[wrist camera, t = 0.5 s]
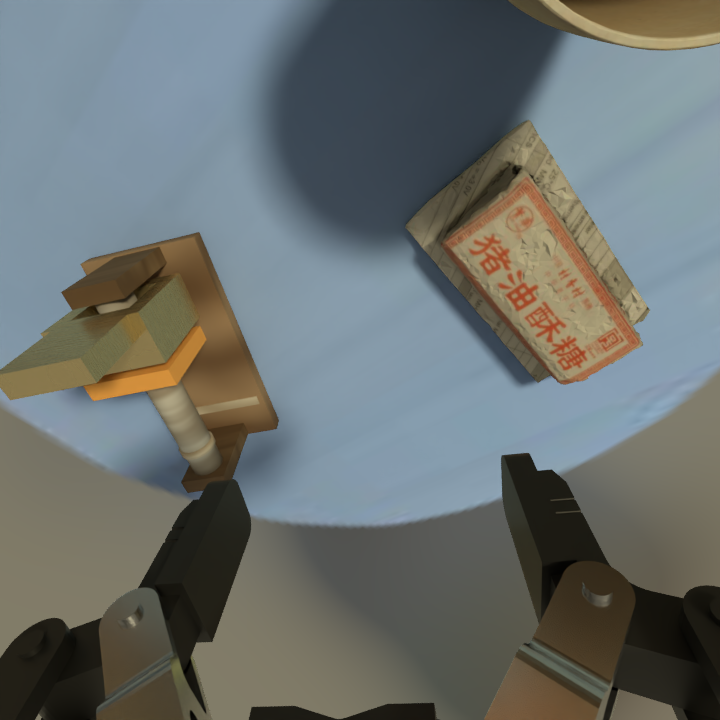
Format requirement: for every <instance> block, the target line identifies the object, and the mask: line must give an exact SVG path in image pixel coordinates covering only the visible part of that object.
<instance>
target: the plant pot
mask: <svg viewBox="0 0 720 720" xmlns="http://www.w3.org/2000/svg"><path fill="white" fill-rule="evenodd" d="M508 1H509V2H510V3H511V4H513V5H514V6H515V7H517V8H518V9H520V10H521V11H523V12H525V13H526V14H528V15H530V16H531V17H533V18H535V19H536V20H538V21H540V22H542V23H544V24H547V25H549V26H552V27H554V28H557V29H560V30H563V31H566V32H569V33H572V34H575V35H579V36H583V37H587V38H590V39H594V40H598V41H602V42H606V43H611V44H616V45H621V46H626V47H631V48H638V49H646V50H681V49H693V48H699V47H705V46H711V45H715V44H719V43H720V0H508Z"/></svg>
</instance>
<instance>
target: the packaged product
mask: <svg viewBox="0 0 720 720" xmlns="http://www.w3.org/2000/svg"><path fill="white" fill-rule="evenodd" d="M406 229H407V230H408V231H409V232H410V233H411V234H412V236H413V237H414V238H415V239H416V240H417V242H418V243H419V244H420V245H421V247H422V248H423V249H424V250H425V252H426V253H427V254H428V255H429V256H430V257H431V259H432V260H433V261H434V262H435V263H436V264H437V266H438V267H439V268H440V269H441V270H442V271H443V273H444V274H445V275H446V276H447V277H448V279H449V280H450V281H451V282H452V283H453V284H454V286H455V287H456V288H457V289H458V290H459V291H460V292H461V294H462V295H463V296H464V297H465V298H466V299H467V301H468V302H469V303H470V304H471V305H472V306H473V307H474V309H475V310H476V311H477V313H478V314H479V315H480V316H481V317H482V318H483V319H484V320H485V321H486V322H487V323H488V324H489V325H490V326H491V328H492V329H493V331H494V332H495V333H496V334H497V335H498V337H499V338H500V339H501V341H502V342H503V343H504V344H505V345H506V346H507V348H508V349H509V350H510V351H511V352H512V353H513V354H514V355H515V356H516V358H517V359H518V360H519V361H520V363H521V364H522V365H523V366H524V367H525V368H526V369H527V371H528V372H529V373H530V374H531V376H532V377H533V378H534V379H535V380H536V381H537V382H538V383H539V382H540V381H541V380H543V379H544V378H546V377H548V376H550V375H551V376H552V377H553V378H554V379H556V380H557V382H559V383H561V384H569V383H573V382H575V381H584V380H586V379H588V377H589V376H590V375H591V374H594V373H596V372H598V371H599V370H601V369H602V368H603V367H605V366H607V365H609V364H613V363H614V362H615V361H617V360H619V359H621V358H623V357H624V356H625V355H627V354H628V353H630V352H631V351H633V350H635V349H637V348H639V347H641V346H642V345H643V343H642V341H641V340H640V339H641V338H640V336H639V333H637V332H636V331H635V329H634V327H633V325H635V324H636V323H638V322H641V321H643V320H644V319H645V317H646V316H647V314H648V313H649V311H650V310H649V308H648V307H647V305H646V304H645V302H644V301H643V299H642V298H641V296H640V295H639V293H638V291H637V290H636V288H635V287H634V285H633V284H632V282H631V281H630V279H629V278H628V276H627V274H626V273H625V271H624V270H623V268H622V266H621V265H620V263H619V262H618V260H617V258H616V257H615V255H614V254H613V252H612V251H611V249H610V247H609V246H608V244H607V242H606V240H605V239H604V237H603V235H602V234H601V232H600V231H599V229H598V228H597V226H596V225H595V223H594V222H593V220H592V219H591V217H590V216H589V214H588V212H587V211H586V210H585V208H584V206H583V205H582V203H581V201H580V200H579V198H578V197H577V195H576V194H575V192H574V191H573V189H572V187H571V186H570V184H569V182H568V181H567V179H566V177H565V176H564V174H563V173H562V171H561V169H560V168H559V166H558V165H557V163H556V162H555V160H554V158H553V156H552V155H551V154H550V152H549V151H548V149H547V147H546V145H545V144H544V143H543V141H542V140H541V138H540V137H539V135H538V134H537V132H536V130H535V128H534V126H533V125H532V123H531V121H530V120H527V121H525V122H523V123H521V124H520V125H519V126H517V127H516V128H514V129H513V130H512V131H510V132H509V133H508V134H506V135H505V136H504V137H503V138H502V139H501V140H500V141H498V142H497V143H496V144H495V145H494V146H493V147H492V148H491V149H490V150H488V151H487V152H486V153H485V154H484V155H483V156H482V157H481V158H480V159H479V160H478V161H476V162H475V163H474V164H473V165H471V166H470V167H469V168H468V169H467V170H465V171H464V172H463V173H462V174H461V175H459V176H458V177H457V178H456V179H455V180H453V181H452V182H451V183H450V184H448V185H447V186H446V187H445V188H444V189H442V190H441V191H440V192H439V193H438V194H436V195H435V196H434V197H433V198H432V199H430V200H429V201H428V202H427V203H426V204H425V205H424V206H423V207H422V208H421V209H420V210H419V211H418V212H417V213H416V214H415V215H414V216H413V217H412V218H411V220H410V221H409V222H408V223H407V224H406Z"/></svg>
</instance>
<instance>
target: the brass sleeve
mask: <svg viewBox="0 0 720 720" xmlns="http://www.w3.org/2000/svg"><path fill="white" fill-rule="evenodd" d="M133 292H134V294H135V296H136V298H137V299H138V300H137V301H136V302H135V303H134V304H133V305H131V306H130V307H129V308H125V309H121V310H116V311H112V312H107V313H103V314H100V313H99V312H98V310H97V308H96V307H95V305H92V306H88V307H84V308H79V309H75V310H72V311H71V312H69V313H68V314H67V315H65V316H64V317H63V318H61V319H60V320H59V321H57V322H56V323H54V324H53V325H52V326H50V327H49V328H48V329H46V330H45V331H44V332H42V333H41V335H42V336H43V338H42V339H40V340H39V341H38V342H36V343H35V344H34V345H32V346H31V347H30V348H28V349H27V350H26V351H24V352H23V353H22V354H21V355H19V356H18V357H17V358H15V359H14V360H13V361H11V362H10V363H9V364H7V365H6V366H5V367H3V368H2V369H1V370H0V388H1V389H2V390H3V392H4V393H5V394H6V395H7V397H8V398H9V399H10V400H14V399H19V398H24V397H29V396H34V395H39V394H44V393H49V392H54V391H59V390H64V389H69V388H74V387H79V386H84V385H89V384H94V383H97V382H98V381H99V380H100V379H101V378H102V377H103V376H104V375H107V374H112V373H117V372H122V371H127V370H132V369H137V368H142V367H147V366H152V365H157V364H162V363H166V362H167V360H168V359H169V358H170V356H171V355H172V354H173V352H174V351H175V350H176V348H177V347H178V346H179V344H180V343H181V342H182V340H183V339H184V338H185V336H186V335H187V334H188V332H189V331H190V330H191V328H192V327H193V326H194V324H195V323H196V322H197V320H198V319H199V318H200V316H199V313H198V311H197V309H196V307H195V305H194V303H193V301H192V299H191V296H190V294H189V292H188V290H187V288H186V286H185V284H184V281H183V279H182V277H181V275H180V273H176V274H172V275H167V276H163V277H159V278H154V279H150V280H146V281H145V282H143V283H142V284H141V285H140V286H139V287H138V288H136V289H135V290H134V291H133Z"/></svg>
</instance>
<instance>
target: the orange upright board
mask: <svg viewBox="0 0 720 720" xmlns="http://www.w3.org/2000/svg"><path fill="white" fill-rule="evenodd" d="M206 340H207V339H206V337H205V335H204V333H203V331H202V329H201V327H200V326H196V327H192V328H191V330H190V331H189V332H188V334H187V335H186V336H185V338H184V339H183V340H182V342H181V343H180V344H179V346H178V347H177V348H176V350H175V351H174V352H173V354H172V355H171V356H170V358H169V359H168V360H167V362H166V363H162V364H158V365H153V366H148V367H143V368H138V369H133V370H127V371H122V372H117V373H112V374H107V375H104V376H103V377H102V378H101V379H100V380H99V381H98V382H97V383H94V384H89V385H84V386H83V387H84V388H85V390H86V391H87V392H88V394H89V395H90V397H91V398H92V400H93V401H96V400H101V399H106V398H111V397H117V396H122V395H127V394H132V393H138V392H143V391H148V390H153V389H158V388H164V387H169V386H174V385H177V384H178V382H179V381H180V379H181V378H182V376H183V375H184V373H185V372H186V370H187V369H188V367H189V366H190V364H191V363H192V361H193V360H194V358H195V356H196V355H197V353H198V352H199V350H200V349H201V347H202V346H203V344H204V343H205V341H206Z"/></svg>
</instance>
